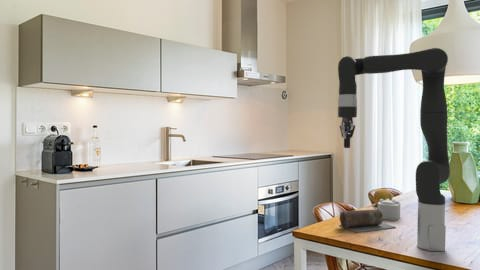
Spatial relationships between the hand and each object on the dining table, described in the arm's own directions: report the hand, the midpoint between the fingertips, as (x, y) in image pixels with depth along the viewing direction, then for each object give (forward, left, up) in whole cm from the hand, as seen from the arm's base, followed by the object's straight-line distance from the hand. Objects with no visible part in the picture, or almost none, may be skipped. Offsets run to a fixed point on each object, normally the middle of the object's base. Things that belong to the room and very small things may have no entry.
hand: (346, 147), depth 158 cm
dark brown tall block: (+12, -2, -33) cm, 35 cm away
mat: (+15, -15, -37) cm, 43 cm away
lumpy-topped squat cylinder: (+35, -34, -37) cm, 61 cm away
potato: (+62, -42, -37) cm, 84 cm away
